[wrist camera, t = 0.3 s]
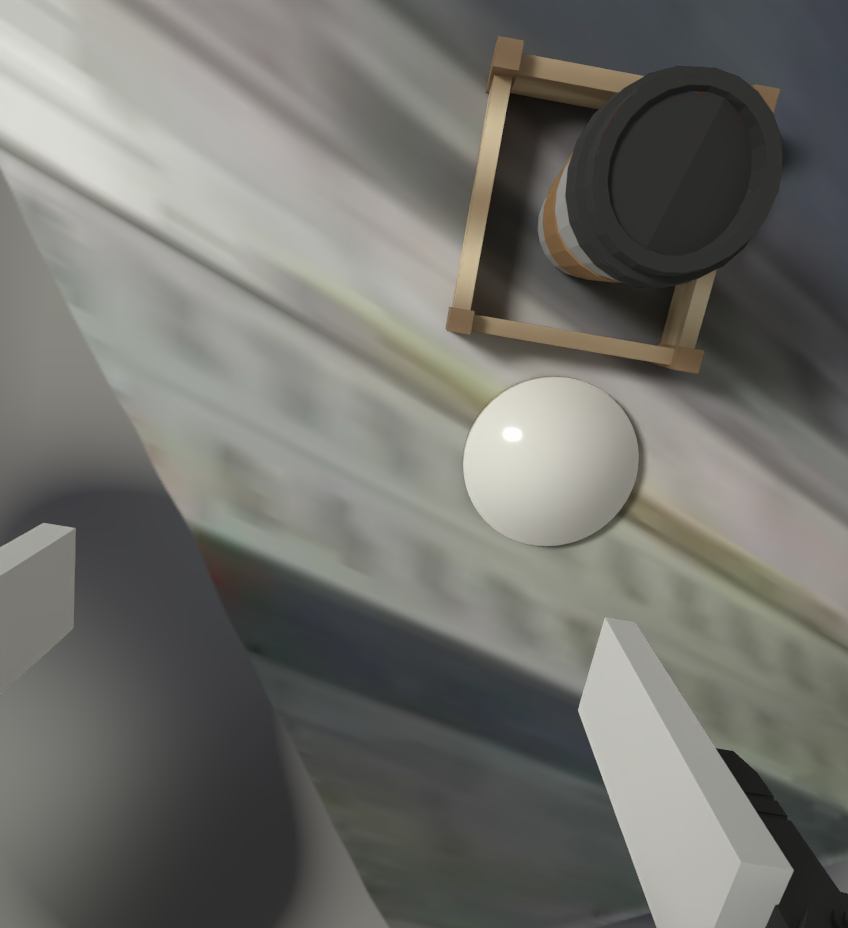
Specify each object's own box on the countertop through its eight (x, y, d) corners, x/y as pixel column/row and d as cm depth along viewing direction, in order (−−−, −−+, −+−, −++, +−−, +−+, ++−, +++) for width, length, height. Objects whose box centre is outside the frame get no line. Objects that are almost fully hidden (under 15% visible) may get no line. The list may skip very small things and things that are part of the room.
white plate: (480, 362, 39) (481, 363, 39) (654, 391, 40) (659, 393, 39) (449, 527, 42) (449, 531, 42) (611, 553, 43) (614, 558, 42)
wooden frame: (490, 66, 35) (498, 36, 31) (742, 112, 35) (780, 89, 31) (445, 328, 39) (447, 331, 35) (672, 367, 39) (698, 373, 35)
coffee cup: (678, 190, 36) (841, 113, 22) (611, 315, 38) (721, 321, 24) (559, 128, 36) (648, 6, 21) (498, 260, 38) (540, 231, 23)
